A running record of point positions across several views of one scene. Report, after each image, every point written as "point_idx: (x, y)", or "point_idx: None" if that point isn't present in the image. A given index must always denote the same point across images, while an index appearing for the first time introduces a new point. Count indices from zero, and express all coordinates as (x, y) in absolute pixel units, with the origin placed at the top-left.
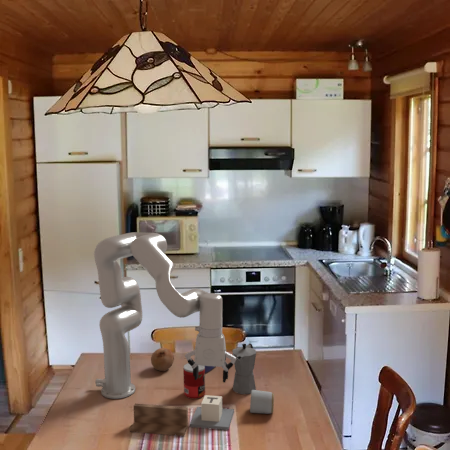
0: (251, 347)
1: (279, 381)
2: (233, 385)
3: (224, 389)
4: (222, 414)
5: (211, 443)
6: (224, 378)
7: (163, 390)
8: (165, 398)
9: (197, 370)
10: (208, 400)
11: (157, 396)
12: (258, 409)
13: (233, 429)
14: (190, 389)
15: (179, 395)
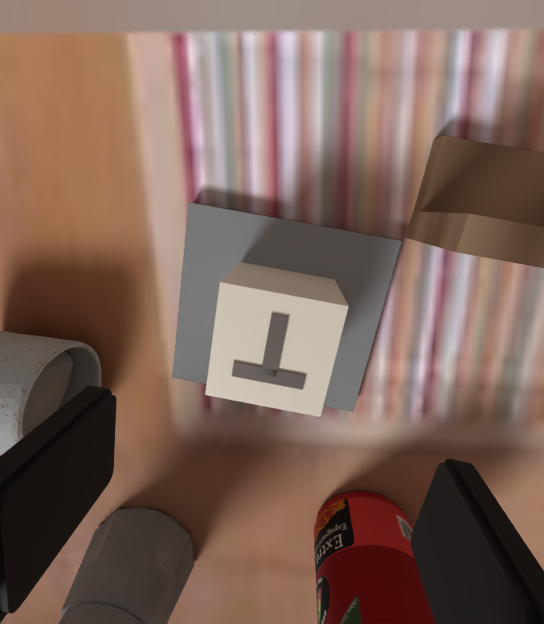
0: None
1: None
2: (186, 564)
3: (229, 548)
4: None
5: (279, 55)
6: (58, 412)
7: None
8: (500, 503)
9: (473, 612)
10: (295, 346)
11: (537, 522)
12: (33, 336)
13: (168, 208)
14: (392, 533)
15: None
